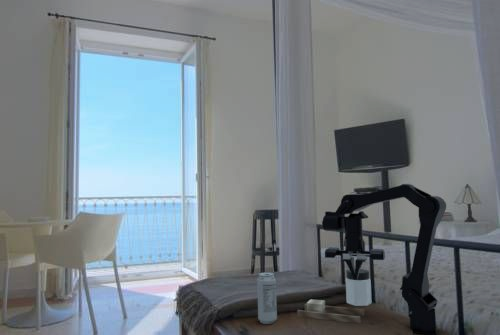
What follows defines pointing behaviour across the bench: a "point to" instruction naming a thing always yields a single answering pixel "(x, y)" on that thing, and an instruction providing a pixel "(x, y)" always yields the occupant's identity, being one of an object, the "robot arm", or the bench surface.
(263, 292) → the energy drink can
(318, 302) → the block
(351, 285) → the jar
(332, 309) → the chute
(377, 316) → the bench surface
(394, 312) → the bench surface
